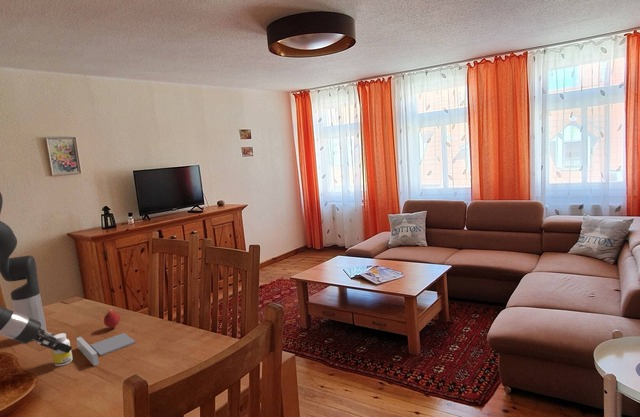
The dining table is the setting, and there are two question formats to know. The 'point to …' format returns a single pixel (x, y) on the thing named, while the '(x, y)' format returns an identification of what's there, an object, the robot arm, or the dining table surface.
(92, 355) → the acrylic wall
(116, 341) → the slate mat
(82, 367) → the dining table surface
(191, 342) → the dining table surface
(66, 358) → the supplement bottle
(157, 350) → the dining table surface
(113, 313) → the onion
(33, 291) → the robot arm
